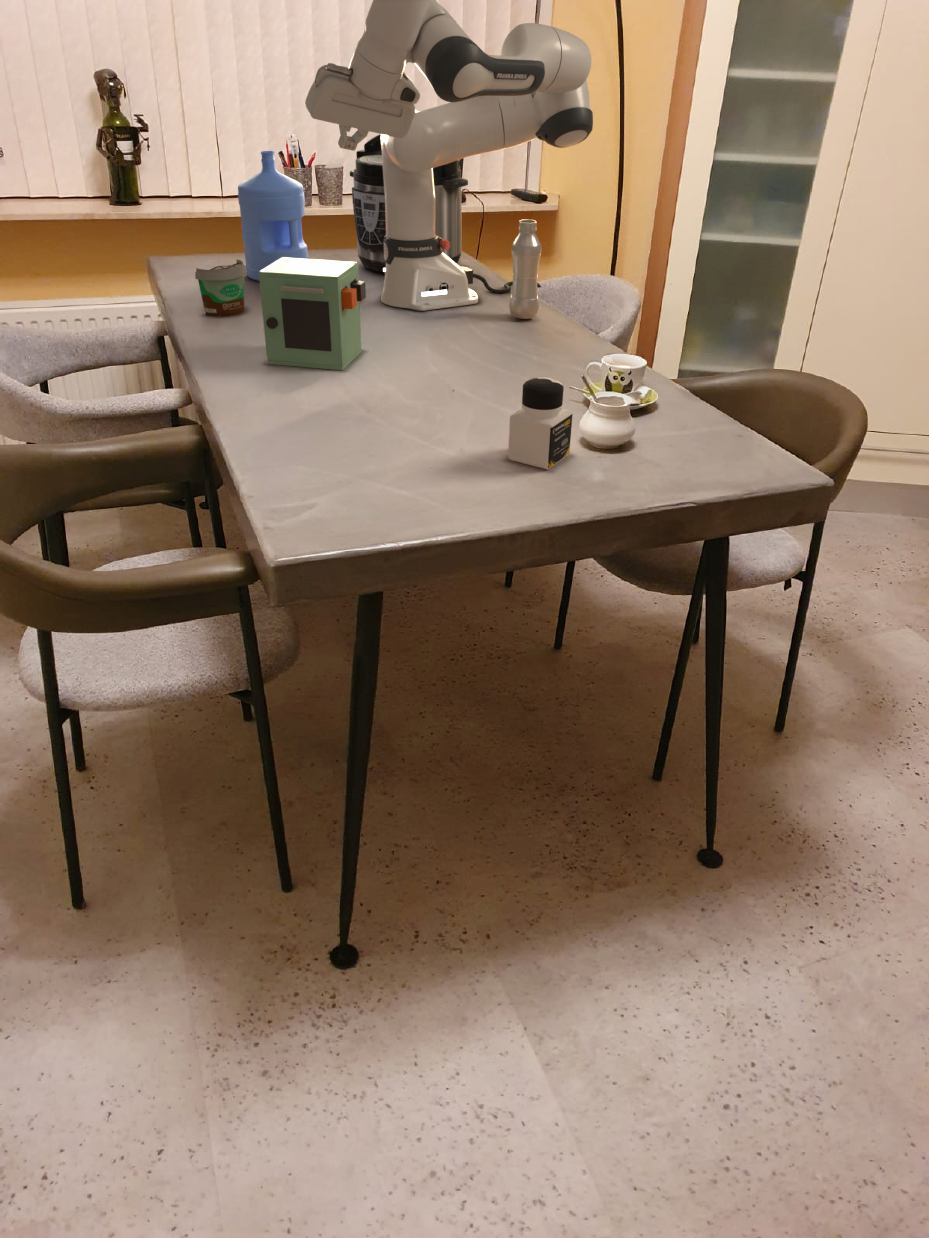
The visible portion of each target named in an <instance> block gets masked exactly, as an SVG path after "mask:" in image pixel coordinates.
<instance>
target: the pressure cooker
mask: <svg viewBox="0 0 929 1238" xmlns="http://www.w3.org/2000/svg"><path fill="white" fill-rule="evenodd" d="M355 156H356V159H355V168H354V169H353V170H350V171H349V176H350V177H351V178H353V186H352V187H351V197H352V198H351V199H352V209H353V218H354V223H355V224H354V226H355V232H356V233H355V234H356V247H357V257H358V259H359V261H360V262H361V264H362V265H363V266H364V267H365V268H366V269H369V270H372V271H375V272H380V273H384V272H383V268H386V262H385V259H384V236H385V235H386V217H385V192H384V179H383V165H382V148H381V134H379V133H378V134H377V135H375V136H374V137H373V136H372V138H370V139H369V140H368V141H367V142H365V143H364V144H363V149H360V150H357V151H356V155H355ZM433 181H434V192H435V235H437V236H438V237H440V238H442V239H446V240H447V241H449V242H450V247H449V249H448V250H443V253H444V254H445V255H447V256H448V257H449V258H450V259H452V260H453V261H454V262H455V263H456V264H457V265H458V263H459V261H460V258H461V256H462V249H463V248H462V246H463V245H462V243H463V241H462V187H463V188H464V187H466V186H468V185H469V180H468V179H467V178H462V169H461V168H460V167H459V160H457V161H454V162H451V163H448V164H445V165H441V166H438V167H435V168H433Z"/></svg>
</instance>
